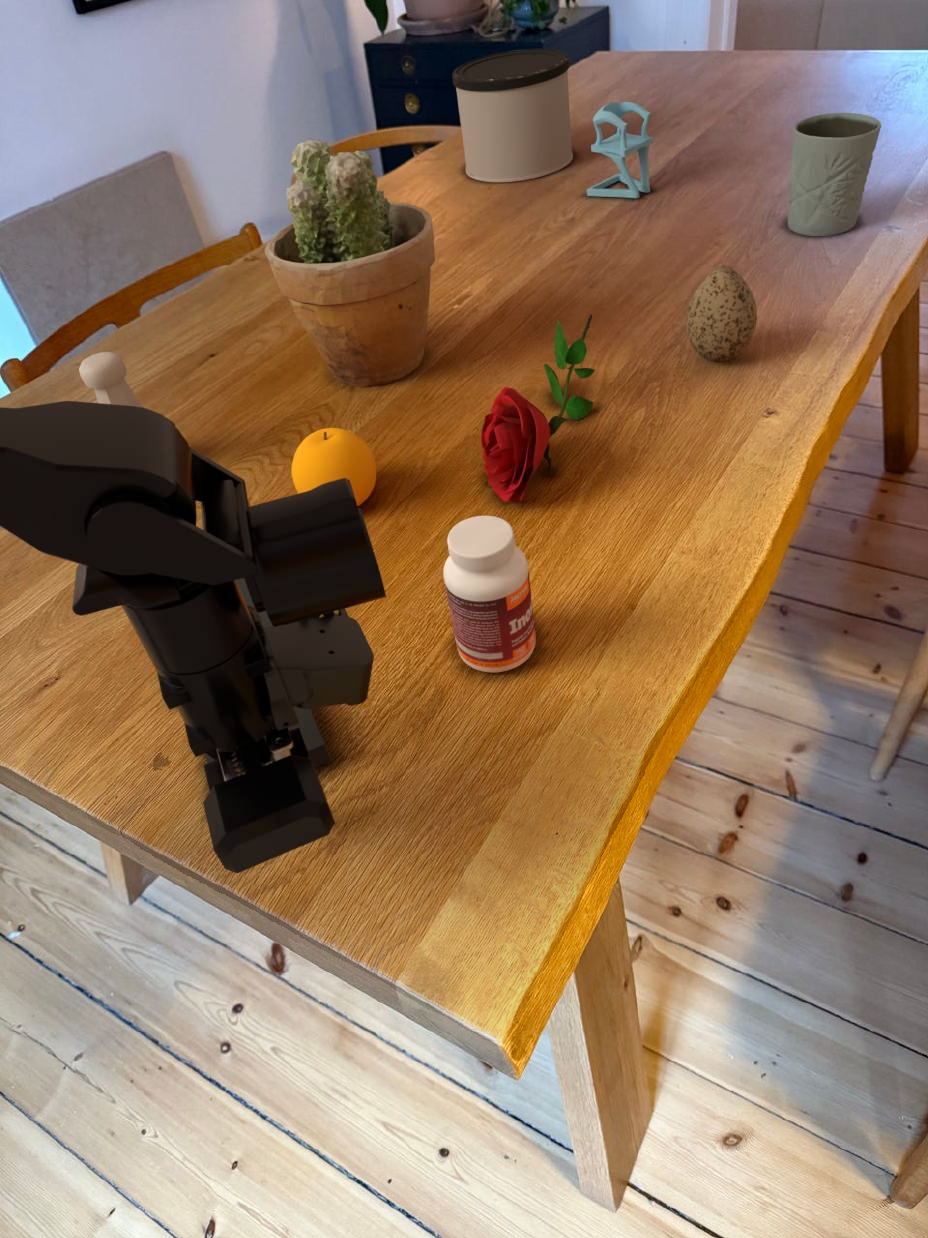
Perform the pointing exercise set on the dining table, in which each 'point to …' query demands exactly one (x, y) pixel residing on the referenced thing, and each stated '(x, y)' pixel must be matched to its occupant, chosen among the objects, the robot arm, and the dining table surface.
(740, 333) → the decorative egg
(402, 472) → the dining table surface
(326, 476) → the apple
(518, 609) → the pill bottle
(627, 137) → the chair
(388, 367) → the potted plant
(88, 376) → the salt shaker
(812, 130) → the green embossed vase
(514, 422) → the flower
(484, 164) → the container
